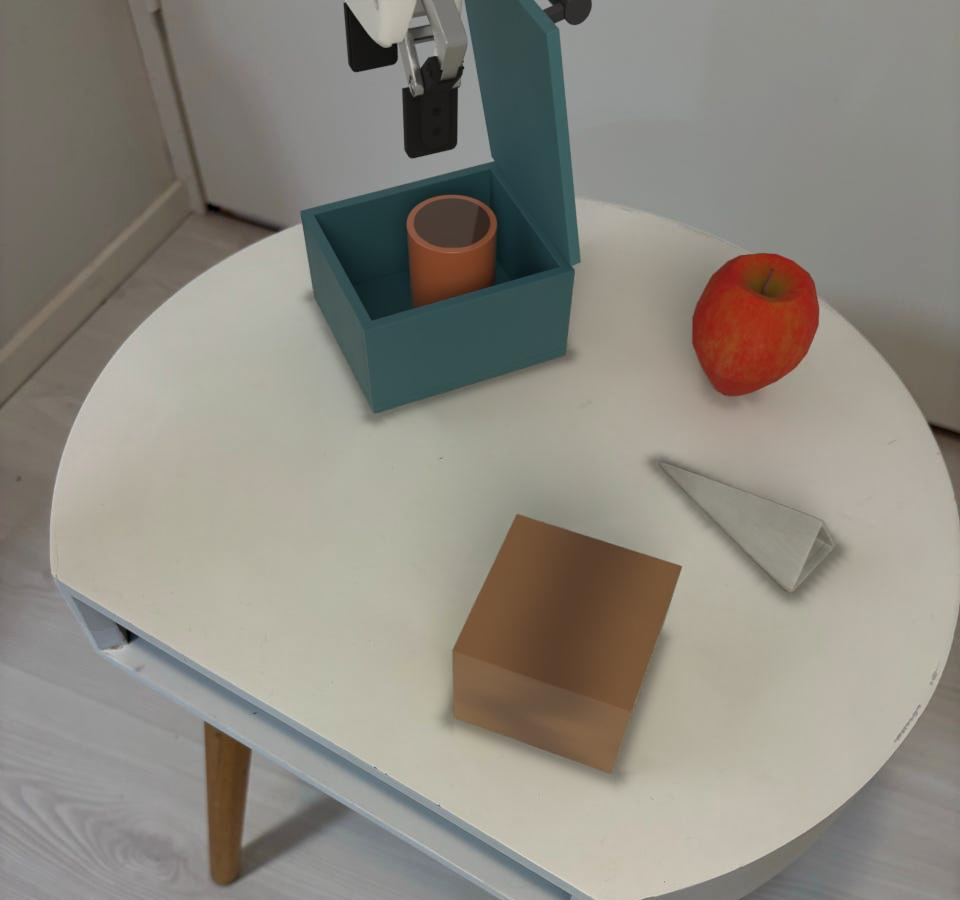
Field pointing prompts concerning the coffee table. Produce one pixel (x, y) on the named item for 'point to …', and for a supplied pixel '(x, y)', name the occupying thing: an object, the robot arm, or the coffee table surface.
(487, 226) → the cup
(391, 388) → the cool box
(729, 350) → the apple
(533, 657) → the stand
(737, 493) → the grey triangular spike
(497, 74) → the cool box lid
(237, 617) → the coffee table surface
